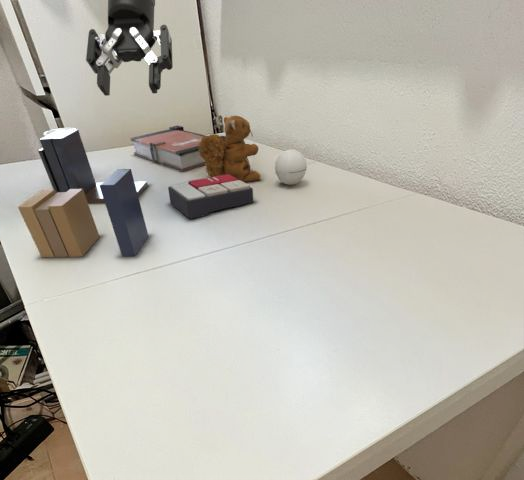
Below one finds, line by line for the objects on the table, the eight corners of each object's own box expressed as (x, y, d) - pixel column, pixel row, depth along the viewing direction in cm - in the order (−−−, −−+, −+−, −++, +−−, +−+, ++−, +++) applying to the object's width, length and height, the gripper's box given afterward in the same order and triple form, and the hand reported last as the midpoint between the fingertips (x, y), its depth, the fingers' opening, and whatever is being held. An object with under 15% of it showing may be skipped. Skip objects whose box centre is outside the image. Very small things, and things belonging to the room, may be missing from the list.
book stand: (53, 204, 88) (27, 141, 79) (74, 187, 96) (53, 129, 87) (133, 202, 86) (116, 137, 77) (148, 185, 94) (133, 125, 86)
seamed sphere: (279, 191, 87) (278, 156, 82) (272, 180, 92) (271, 147, 87) (321, 185, 88) (323, 151, 83) (311, 175, 93) (312, 142, 89)
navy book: (121, 256, 66) (99, 185, 59) (136, 236, 72) (117, 169, 64) (135, 256, 66) (114, 184, 58) (148, 235, 72) (131, 168, 64)
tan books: (41, 257, 68) (17, 207, 62) (62, 237, 74) (42, 189, 68) (82, 256, 67) (62, 205, 61) (99, 236, 73) (82, 188, 67)
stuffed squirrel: (263, 180, 93) (260, 118, 84) (206, 188, 91) (197, 125, 82) (254, 168, 100) (250, 110, 91) (200, 175, 98) (192, 116, 89)
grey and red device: (253, 184, 80) (186, 197, 74) (254, 205, 83) (189, 219, 77) (229, 172, 87) (166, 182, 81) (230, 191, 90) (169, 203, 84)
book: (132, 155, 116) (127, 137, 112) (180, 142, 124) (177, 125, 121) (180, 172, 101) (176, 151, 98) (231, 156, 109) (229, 137, 106)
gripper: (80, -18, 63) (76, 76, 62) (164, -25, 62) (161, 71, 61) (103, 23, 70) (99, 108, 69) (178, 18, 69) (176, 104, 68)
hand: (128, 91), depth 65 cm, fingers open, 8 cm apart
